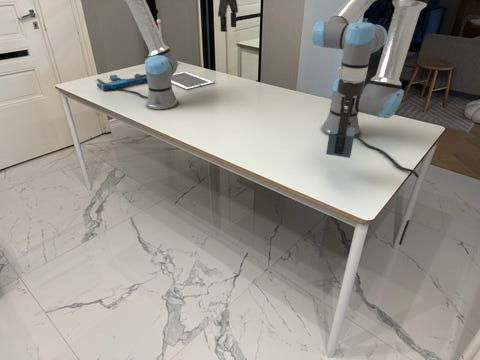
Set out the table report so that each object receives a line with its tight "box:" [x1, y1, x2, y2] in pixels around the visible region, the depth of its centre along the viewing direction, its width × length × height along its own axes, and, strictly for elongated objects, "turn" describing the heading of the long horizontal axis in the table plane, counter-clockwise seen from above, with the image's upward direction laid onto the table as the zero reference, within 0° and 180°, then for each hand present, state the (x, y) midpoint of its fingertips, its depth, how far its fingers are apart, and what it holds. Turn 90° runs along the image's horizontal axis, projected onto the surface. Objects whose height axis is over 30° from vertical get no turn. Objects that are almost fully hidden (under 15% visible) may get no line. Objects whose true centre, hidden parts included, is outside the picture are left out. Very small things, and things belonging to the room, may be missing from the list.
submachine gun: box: [96, 73, 148, 91], centre depth 208 cm, size 34×4×25 cm
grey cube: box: [325, 125, 356, 159], centre depth 112 cm, size 8×7×8 cm
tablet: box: [171, 70, 215, 90], centre depth 212 cm, size 32×20×1 cm, turn 41°
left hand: (228, 29), depth 168 cm, fingers open, 13 cm apart
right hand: (339, 148), depth 114 cm, fingers closed on grey cube, 7 cm apart
